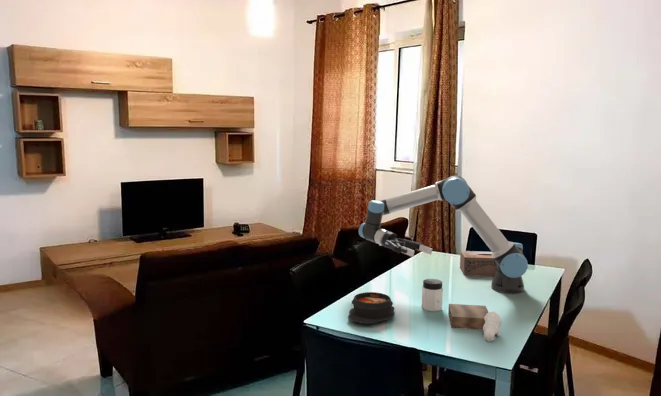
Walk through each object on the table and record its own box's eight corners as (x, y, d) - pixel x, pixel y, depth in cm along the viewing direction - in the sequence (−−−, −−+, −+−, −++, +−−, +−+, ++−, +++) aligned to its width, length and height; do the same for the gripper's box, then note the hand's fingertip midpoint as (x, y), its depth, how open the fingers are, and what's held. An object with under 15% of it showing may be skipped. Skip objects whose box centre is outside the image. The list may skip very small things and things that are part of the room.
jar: (431, 312, 215) (432, 285, 214) (417, 307, 222) (418, 280, 221) (446, 308, 220) (447, 282, 219) (432, 303, 227) (433, 277, 226)
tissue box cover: (506, 269, 284) (507, 252, 283) (513, 277, 270) (514, 258, 269) (459, 268, 287) (460, 250, 286) (463, 275, 273) (464, 257, 271)
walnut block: (485, 317, 212) (485, 305, 211) (491, 331, 197) (491, 318, 197) (448, 315, 214) (448, 303, 213) (451, 328, 199) (451, 316, 199)
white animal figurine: (502, 311, 193) (498, 324, 182) (501, 331, 195) (497, 346, 184) (485, 308, 196) (480, 322, 185) (484, 329, 198) (479, 343, 187)
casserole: (365, 304, 226) (365, 286, 225) (404, 312, 216) (405, 293, 215) (337, 322, 204) (337, 302, 203) (379, 332, 195) (379, 310, 194)
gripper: (401, 244, 250) (436, 258, 235) (367, 248, 232) (403, 263, 217) (404, 230, 248) (440, 243, 234) (370, 232, 231) (407, 246, 216)
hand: (422, 252), depth 225 cm, fingers open, 13 cm apart
